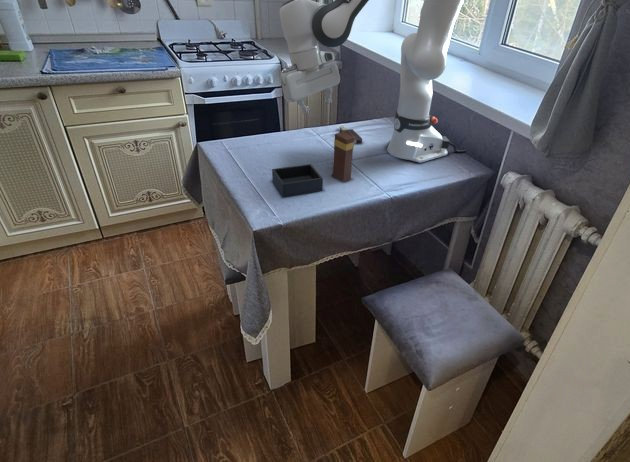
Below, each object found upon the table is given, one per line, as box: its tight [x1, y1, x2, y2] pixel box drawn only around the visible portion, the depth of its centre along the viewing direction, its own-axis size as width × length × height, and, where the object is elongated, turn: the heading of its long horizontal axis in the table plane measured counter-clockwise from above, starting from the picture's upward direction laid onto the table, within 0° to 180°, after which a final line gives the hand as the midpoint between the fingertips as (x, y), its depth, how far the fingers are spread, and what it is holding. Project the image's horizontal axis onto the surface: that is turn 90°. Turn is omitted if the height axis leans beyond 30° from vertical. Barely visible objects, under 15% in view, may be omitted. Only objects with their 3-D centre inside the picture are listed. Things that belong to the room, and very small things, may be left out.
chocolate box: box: [332, 132, 355, 183], centre depth 132 cm, size 3×5×14 cm, turn 47°
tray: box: [271, 163, 324, 198], centre depth 128 cm, size 12×10×4 cm
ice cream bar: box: [339, 125, 363, 145], centre depth 163 cm, size 5×2×15 cm
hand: (318, 107), depth 132 cm, fingers open, 8 cm apart
